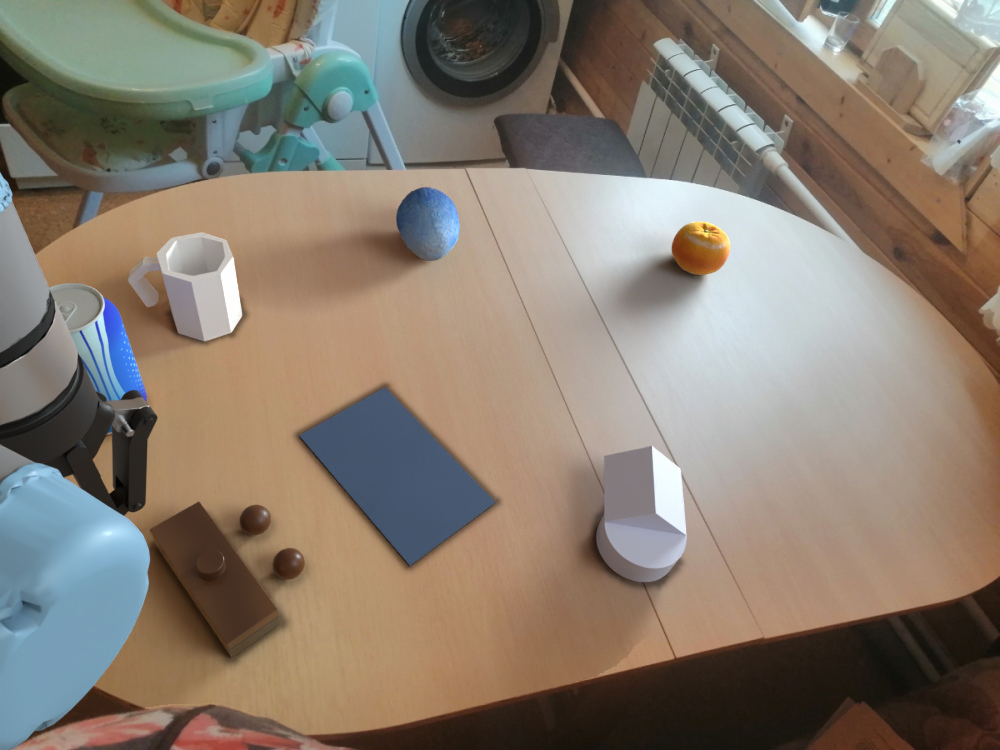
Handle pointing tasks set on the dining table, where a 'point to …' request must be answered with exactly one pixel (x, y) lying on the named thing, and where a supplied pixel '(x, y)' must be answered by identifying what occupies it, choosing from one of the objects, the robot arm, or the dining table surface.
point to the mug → (194, 284)
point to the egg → (428, 223)
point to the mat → (397, 474)
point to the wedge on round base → (642, 514)
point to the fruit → (700, 248)
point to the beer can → (99, 340)
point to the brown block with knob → (216, 578)
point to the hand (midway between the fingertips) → (113, 566)
